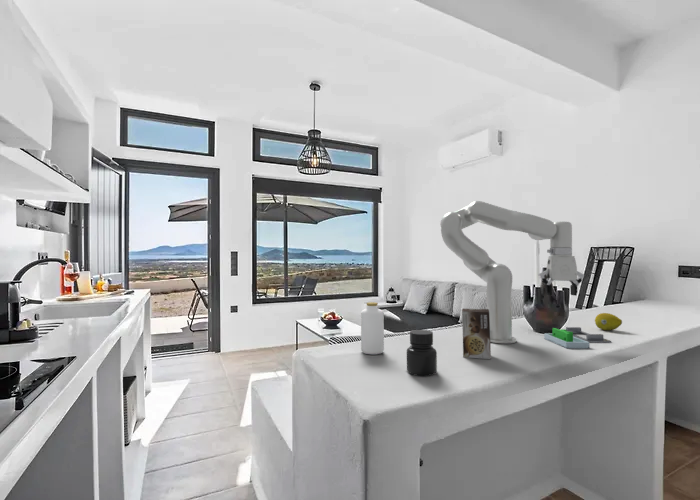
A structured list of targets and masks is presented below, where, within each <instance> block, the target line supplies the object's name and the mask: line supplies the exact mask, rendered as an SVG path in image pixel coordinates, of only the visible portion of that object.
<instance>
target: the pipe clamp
mask: <svg viewBox="0 0 700 500" xmlns="http://www.w3.org/2000/svg"><path fill="white" fill-rule="evenodd" d="M552 336H554V337H556V338H559V339H561V340H563V341H566V342H573V332H568V331H567V330H566V328H564V329H559V328H557V327H552Z"/></svg>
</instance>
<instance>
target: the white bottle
mask: <svg viewBox="0 0 700 500" xmlns="http://www.w3.org/2000/svg"><path fill="white" fill-rule="evenodd" d="M365 307H366V308H364V309H362V310H361V312H360V349H361V350H360V351H361V353H363V354H365V355H374V356H376V355H380V354H382V353H383V352H384V351H385V338H384V337H385V333H384V332H385V324H384V322H385V321H384V320H385V319H384V318H385V317H384V316H385V314H384V311H383V310H382V309H380V308H378V307H379V305H378V302H375V301H374V302H371V301H369V302H366V305H365Z"/></svg>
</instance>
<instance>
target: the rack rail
mask: <svg viewBox="0 0 700 500" xmlns="http://www.w3.org/2000/svg"><path fill="white" fill-rule="evenodd" d="M565 329H566V330H567V331H568V332H573V337H576V338H579V339H582V340H584V341H587V342H589V344H590V343H595V344H596V343H597V344H599V343H601V344H602V343H603V344H604V343H609V342H611V343H612V340H611V339H610V340H609V339H607V338H604V334H602V333H590V332H589V333H588V332H584V331H582V327H579V326H576V327H575V326H572V327H571V326H569V327H568V326H567V327H565ZM576 334H578V335H576ZM579 334H580V335H581V334H582V335H585V336H586V338H585V337H582V336H579Z"/></svg>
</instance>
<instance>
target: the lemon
mask: <svg viewBox="0 0 700 500" xmlns="http://www.w3.org/2000/svg"><path fill="white" fill-rule="evenodd" d="M594 322H595V323H594V324H595V326H596V327H597V328H598V329H600V330H602V331H607V332H608V331H615V330H616V329H618V328H619V327H621V325H622V324H623V320H622V319H621V318H619V317H618V316H616V315H615V314H612V313H609V312H602V313H601V312H600V313H598V314H597V315H596V317H595V319H594Z"/></svg>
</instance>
